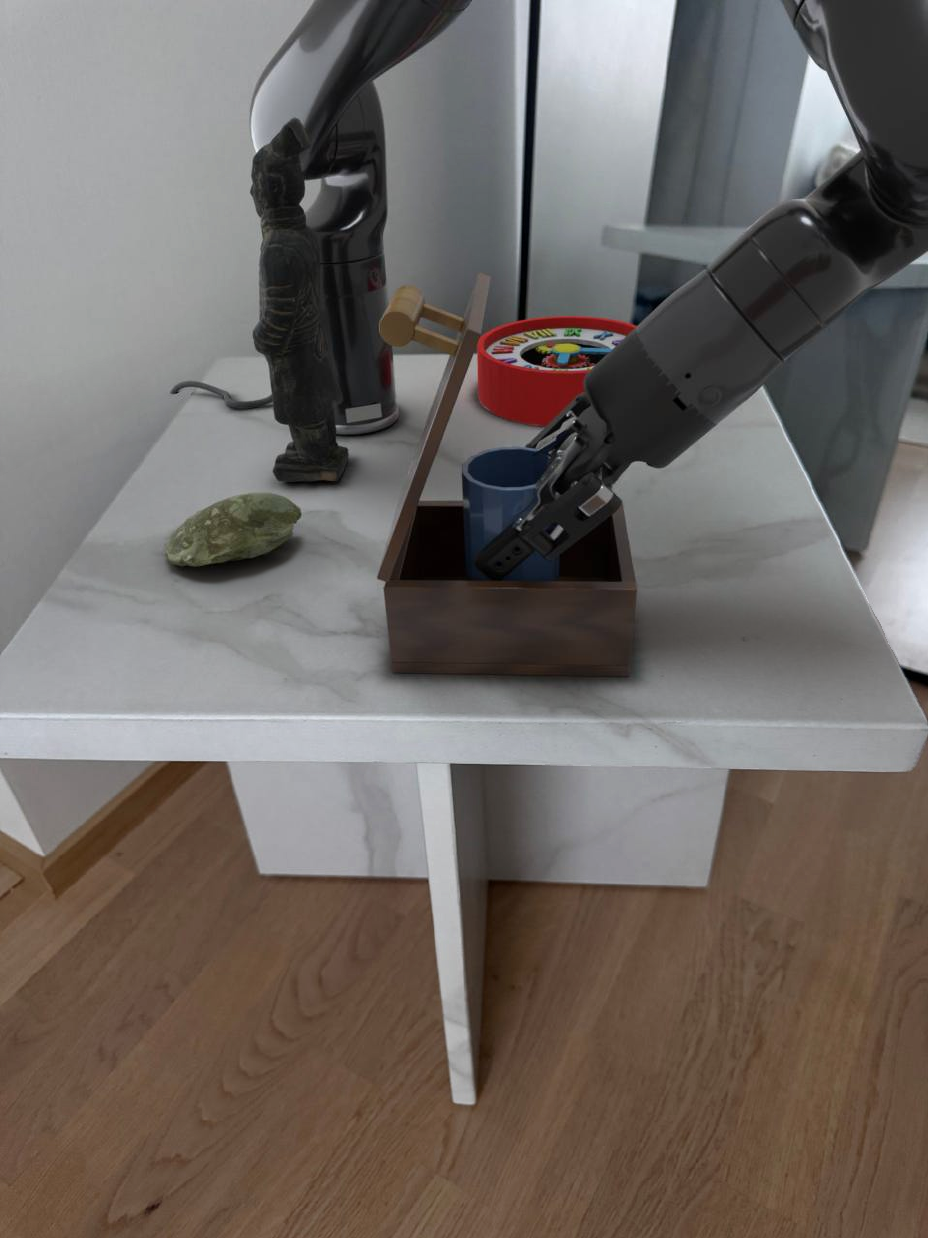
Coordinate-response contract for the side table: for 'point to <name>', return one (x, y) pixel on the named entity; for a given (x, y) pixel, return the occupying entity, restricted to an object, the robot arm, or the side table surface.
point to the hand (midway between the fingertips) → (487, 542)
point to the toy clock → (541, 364)
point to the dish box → (510, 605)
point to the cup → (502, 506)
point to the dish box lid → (399, 331)
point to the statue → (294, 314)
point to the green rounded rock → (233, 530)
